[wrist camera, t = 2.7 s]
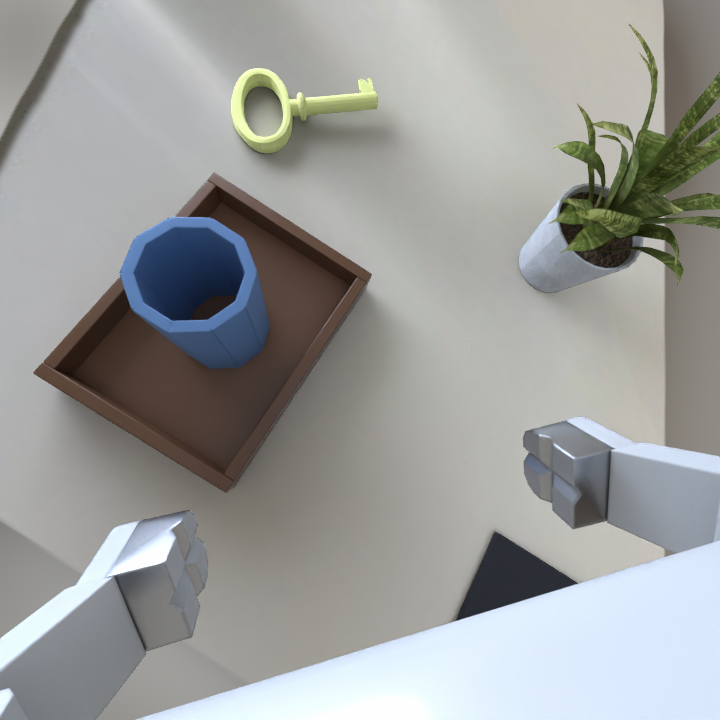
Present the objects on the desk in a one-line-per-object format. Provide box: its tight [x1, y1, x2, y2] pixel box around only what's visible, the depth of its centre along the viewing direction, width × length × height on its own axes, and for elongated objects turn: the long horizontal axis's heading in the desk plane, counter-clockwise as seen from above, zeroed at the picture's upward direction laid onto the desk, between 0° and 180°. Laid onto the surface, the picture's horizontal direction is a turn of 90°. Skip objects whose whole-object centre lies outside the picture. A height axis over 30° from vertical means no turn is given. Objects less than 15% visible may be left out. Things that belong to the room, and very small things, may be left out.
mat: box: [456, 532, 578, 621], centre depth 26 cm, size 10×10×1 cm
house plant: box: [519, 24, 720, 293], centre depth 25 cm, size 14×14×16 cm
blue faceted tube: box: [120, 217, 270, 369], centre depth 22 cm, size 6×6×9 cm
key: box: [231, 68, 378, 153], centre depth 31 cm, size 7×12×2 cm, turn 119°
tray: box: [33, 173, 372, 493], centre depth 26 cm, size 18×14×2 cm
